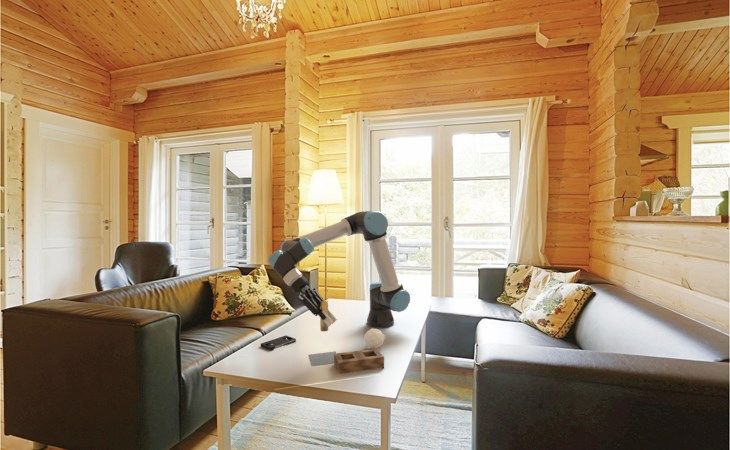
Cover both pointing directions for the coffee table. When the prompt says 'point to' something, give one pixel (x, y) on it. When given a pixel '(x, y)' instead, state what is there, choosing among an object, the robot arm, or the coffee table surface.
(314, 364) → the slate rubber mat
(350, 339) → the coffee table surface
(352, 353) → the walnut hole block
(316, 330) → the coffee table surface
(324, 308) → the brass peg
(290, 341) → the vhs tape
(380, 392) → the coffee table surface
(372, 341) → the beige faceted ovoid
